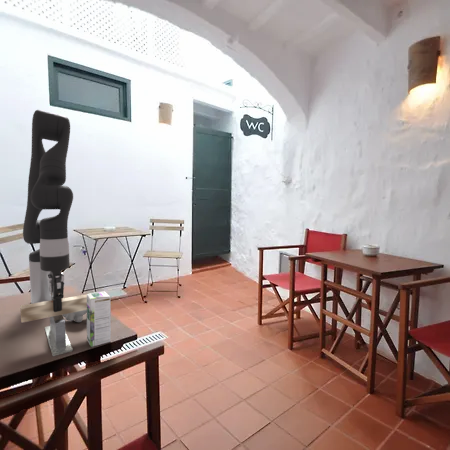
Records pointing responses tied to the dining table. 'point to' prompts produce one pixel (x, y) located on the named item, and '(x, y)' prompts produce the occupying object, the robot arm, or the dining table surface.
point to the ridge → (58, 336)
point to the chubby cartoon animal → (75, 316)
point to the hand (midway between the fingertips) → (56, 308)
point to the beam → (46, 308)
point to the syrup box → (98, 318)
